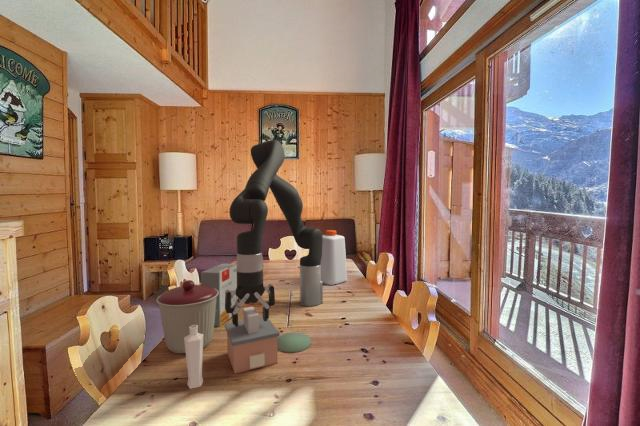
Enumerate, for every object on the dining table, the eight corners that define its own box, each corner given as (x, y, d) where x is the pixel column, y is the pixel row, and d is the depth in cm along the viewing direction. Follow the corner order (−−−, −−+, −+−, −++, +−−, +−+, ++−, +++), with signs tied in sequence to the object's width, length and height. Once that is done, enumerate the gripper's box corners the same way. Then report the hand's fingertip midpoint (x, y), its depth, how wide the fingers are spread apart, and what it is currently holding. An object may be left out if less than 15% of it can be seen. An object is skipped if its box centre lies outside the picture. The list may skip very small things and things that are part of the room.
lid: (266, 322, 98) (266, 300, 98) (279, 339, 87) (279, 315, 86) (225, 330, 93) (224, 307, 92) (232, 349, 81) (231, 324, 81)
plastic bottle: (311, 280, 170) (311, 230, 168) (331, 275, 180) (331, 228, 178) (331, 286, 159) (331, 233, 157) (350, 281, 169) (350, 230, 167)
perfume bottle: (188, 378, 80) (187, 323, 79) (206, 378, 80) (204, 322, 79) (182, 390, 75) (180, 331, 74) (200, 389, 76) (198, 330, 75)
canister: (191, 365, 86) (189, 292, 85) (144, 354, 92) (141, 285, 91) (231, 337, 103) (230, 275, 102) (189, 329, 109) (187, 271, 108)
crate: (266, 344, 98) (265, 320, 98) (278, 364, 87) (278, 337, 86) (227, 352, 93) (226, 327, 92) (235, 375, 81) (234, 346, 81)
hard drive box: (219, 327, 111) (218, 273, 109) (200, 325, 112) (199, 272, 111) (239, 311, 126) (238, 263, 125) (222, 309, 127) (221, 262, 126)
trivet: (302, 331, 107) (302, 330, 107) (317, 347, 96) (317, 345, 96) (269, 339, 102) (269, 337, 102) (280, 356, 91) (280, 354, 91)
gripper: (270, 263, 95) (270, 314, 96) (222, 268, 89) (223, 322, 90) (277, 268, 88) (278, 323, 89) (226, 274, 82) (227, 333, 83)
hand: (250, 322), depth 89 cm, fingers open, 8 cm apart
